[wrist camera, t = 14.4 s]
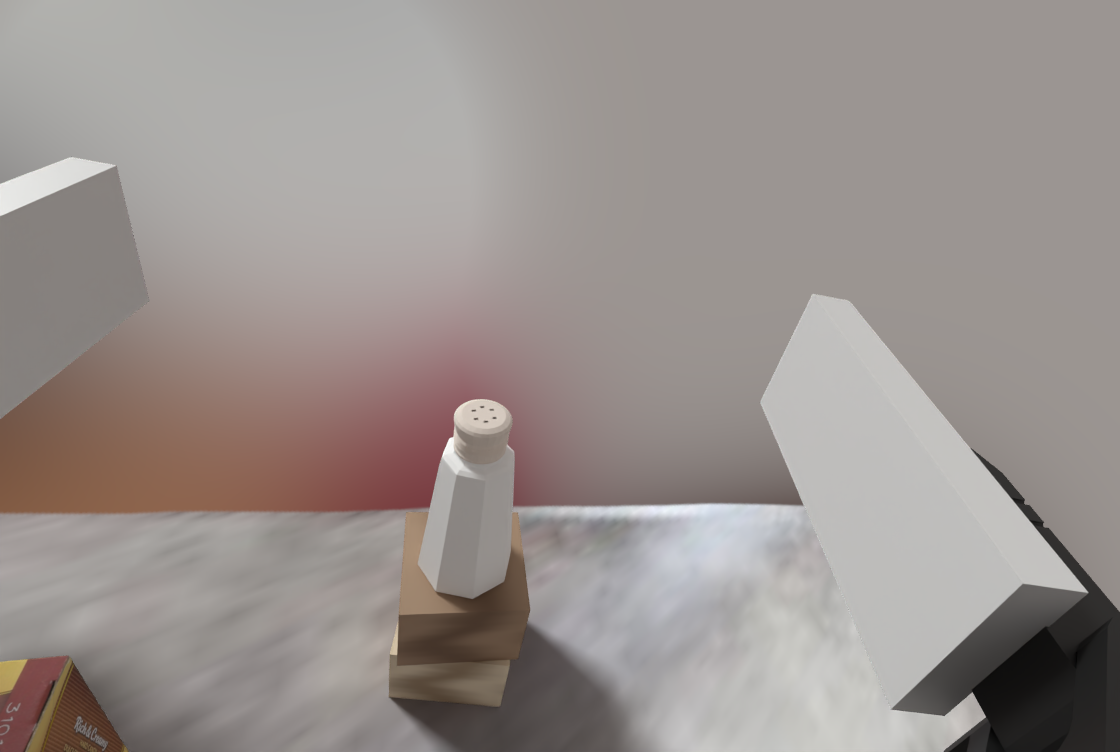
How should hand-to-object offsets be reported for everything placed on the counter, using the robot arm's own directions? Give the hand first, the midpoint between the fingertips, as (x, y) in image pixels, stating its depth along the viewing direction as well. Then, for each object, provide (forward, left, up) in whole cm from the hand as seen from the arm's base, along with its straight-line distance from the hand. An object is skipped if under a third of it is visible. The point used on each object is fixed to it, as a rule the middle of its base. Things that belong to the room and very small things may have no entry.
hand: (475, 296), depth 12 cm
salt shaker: (0, +12, -23) cm, 26 cm away
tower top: (0, +12, -28) cm, 31 cm away
